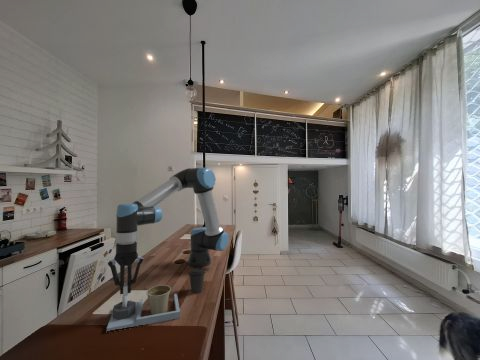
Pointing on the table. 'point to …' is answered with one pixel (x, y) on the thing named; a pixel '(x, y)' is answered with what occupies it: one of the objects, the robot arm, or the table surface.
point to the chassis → (139, 320)
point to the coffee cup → (196, 280)
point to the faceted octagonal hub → (124, 310)
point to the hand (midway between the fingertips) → (125, 301)
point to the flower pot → (158, 298)
